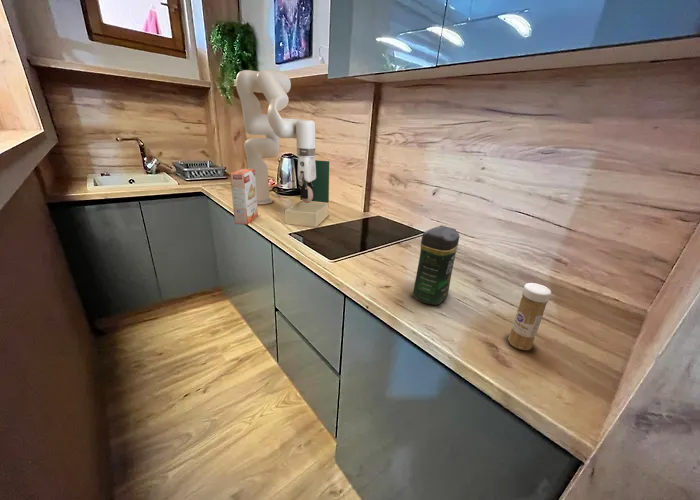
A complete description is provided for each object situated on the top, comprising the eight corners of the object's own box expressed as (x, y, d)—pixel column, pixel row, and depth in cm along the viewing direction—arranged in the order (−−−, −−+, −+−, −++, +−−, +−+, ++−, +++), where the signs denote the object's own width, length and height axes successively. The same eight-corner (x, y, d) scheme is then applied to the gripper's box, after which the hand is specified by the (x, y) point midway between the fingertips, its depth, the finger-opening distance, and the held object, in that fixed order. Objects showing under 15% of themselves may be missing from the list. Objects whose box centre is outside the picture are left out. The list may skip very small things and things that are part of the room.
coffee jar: (437, 309, 73) (450, 238, 66) (408, 298, 78) (417, 229, 71) (452, 294, 81) (465, 228, 73) (424, 284, 85) (434, 220, 78)
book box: (315, 227, 126) (315, 213, 124) (285, 223, 129) (284, 210, 127) (328, 215, 142) (328, 203, 140) (301, 212, 145) (300, 200, 142)
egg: (314, 203, 130) (314, 186, 127) (303, 204, 128) (302, 187, 125) (310, 201, 135) (310, 184, 132) (299, 201, 132) (298, 185, 130)
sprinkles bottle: (503, 340, 64) (519, 284, 59) (516, 334, 66) (533, 280, 61) (523, 354, 60) (542, 296, 55) (537, 347, 62) (557, 290, 57)
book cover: (328, 161, 132) (332, 160, 137) (299, 159, 135) (304, 158, 140) (328, 202, 139) (331, 200, 144) (300, 200, 142) (304, 197, 147)
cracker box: (249, 225, 125) (244, 173, 116) (234, 224, 125) (228, 172, 116) (259, 215, 137) (255, 168, 129) (245, 215, 138) (241, 167, 129)
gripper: (307, 155, 115) (308, 202, 122) (321, 151, 130) (321, 193, 137) (288, 154, 116) (290, 200, 123) (305, 150, 132) (305, 192, 139)
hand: (306, 196), depth 130 cm, fingers closed on egg, 5 cm apart
